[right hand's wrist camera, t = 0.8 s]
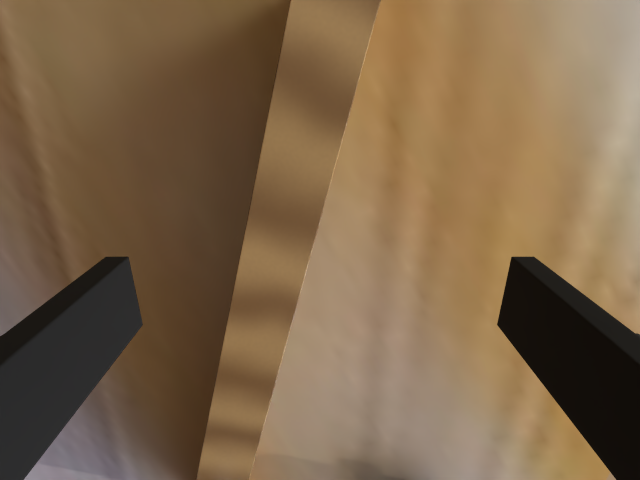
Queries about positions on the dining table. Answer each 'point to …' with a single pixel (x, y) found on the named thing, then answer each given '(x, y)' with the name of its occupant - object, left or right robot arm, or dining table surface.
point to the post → (284, 219)
